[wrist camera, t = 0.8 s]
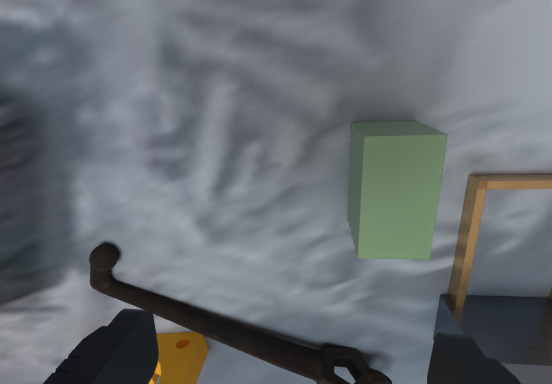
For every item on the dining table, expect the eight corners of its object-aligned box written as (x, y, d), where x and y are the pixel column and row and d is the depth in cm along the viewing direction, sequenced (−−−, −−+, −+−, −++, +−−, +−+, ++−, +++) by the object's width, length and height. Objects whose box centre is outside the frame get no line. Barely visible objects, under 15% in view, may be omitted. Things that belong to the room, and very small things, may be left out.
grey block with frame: (460, 175, 24) (516, 212, 17) (606, 173, 23) (724, 212, 16) (433, 338, 29) (468, 414, 23) (550, 344, 28) (621, 424, 22)
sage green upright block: (351, 122, 24) (364, 136, 18) (414, 120, 23) (447, 134, 17) (347, 219, 26) (357, 258, 21) (403, 219, 26) (429, 259, 20)
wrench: (114, 227, 31) (403, 340, 30) (110, 266, 33) (379, 373, 32) (73, 257, 27) (414, 393, 25) (72, 300, 29) (386, 428, 27)
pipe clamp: (112, 367, 35) (71, 427, 29) (98, 337, 34) (52, 393, 28) (212, 362, 34) (191, 424, 28) (202, 330, 32) (177, 388, 26)
